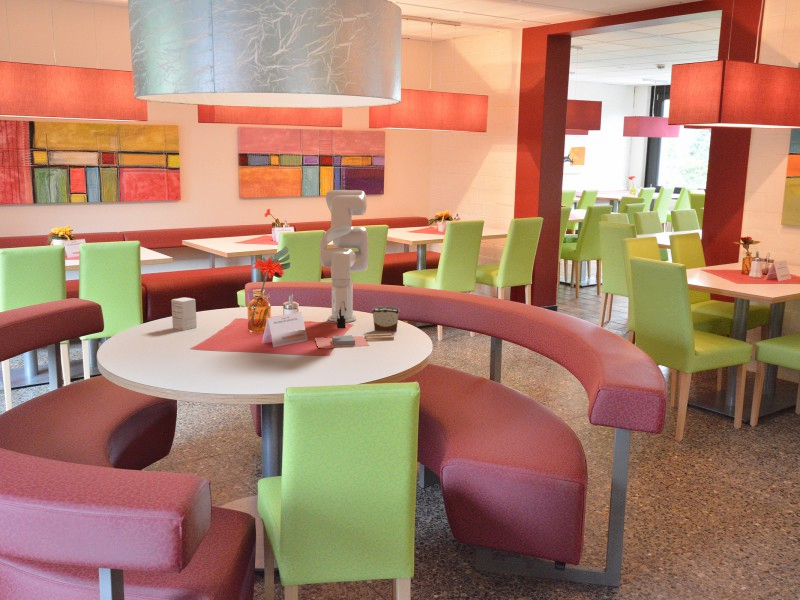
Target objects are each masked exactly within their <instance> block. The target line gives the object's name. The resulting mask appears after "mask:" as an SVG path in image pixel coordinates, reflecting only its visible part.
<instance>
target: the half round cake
mask: <svg viewBox="0 0 800 600" xmlns="http://www.w3.org/2000/svg"><path fill="white" fill-rule="evenodd" d="M371 314H372V315H373V316H372V318H373V327H374V332H376V331H377V332H378V331H379V332H398V323H399V315H400V314H401V311H400V308H399V307H396V306H386V305H385V306H384V305H383V306H375V307H372V309H371Z"/></svg>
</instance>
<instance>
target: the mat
mask: <svg viewBox="0 0 800 600" xmlns="http://www.w3.org/2000/svg"><path fill="white" fill-rule="evenodd" d="M352 336H353V335H352ZM314 338H315V339H314V342H315V341H316V342H315V344H316V346H318V347H317V349H318V348H325V349H334V348H346V347H348V348H350V347H352V348H353V347H369V346H370V344H369V343H368V341H367V340H366V339H365V336H363V335H356V336H353V338H354V340H355V345H354V346H335V345H334V343H333V341H332V338H330V339H326V338H324V337H314Z"/></svg>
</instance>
